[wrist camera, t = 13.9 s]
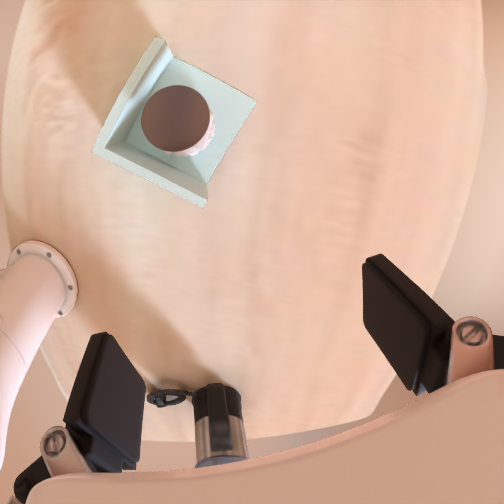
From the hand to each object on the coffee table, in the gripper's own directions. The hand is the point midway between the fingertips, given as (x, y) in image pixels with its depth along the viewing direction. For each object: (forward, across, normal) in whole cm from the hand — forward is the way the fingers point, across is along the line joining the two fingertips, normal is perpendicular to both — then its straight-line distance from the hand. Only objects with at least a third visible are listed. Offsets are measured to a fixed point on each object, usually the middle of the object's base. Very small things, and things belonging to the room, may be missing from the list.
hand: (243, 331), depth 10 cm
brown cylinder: (+19, +1, -8) cm, 20 cm away
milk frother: (+26, +15, +36) cm, 47 cm away
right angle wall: (+26, +2, -8) cm, 27 cm away
